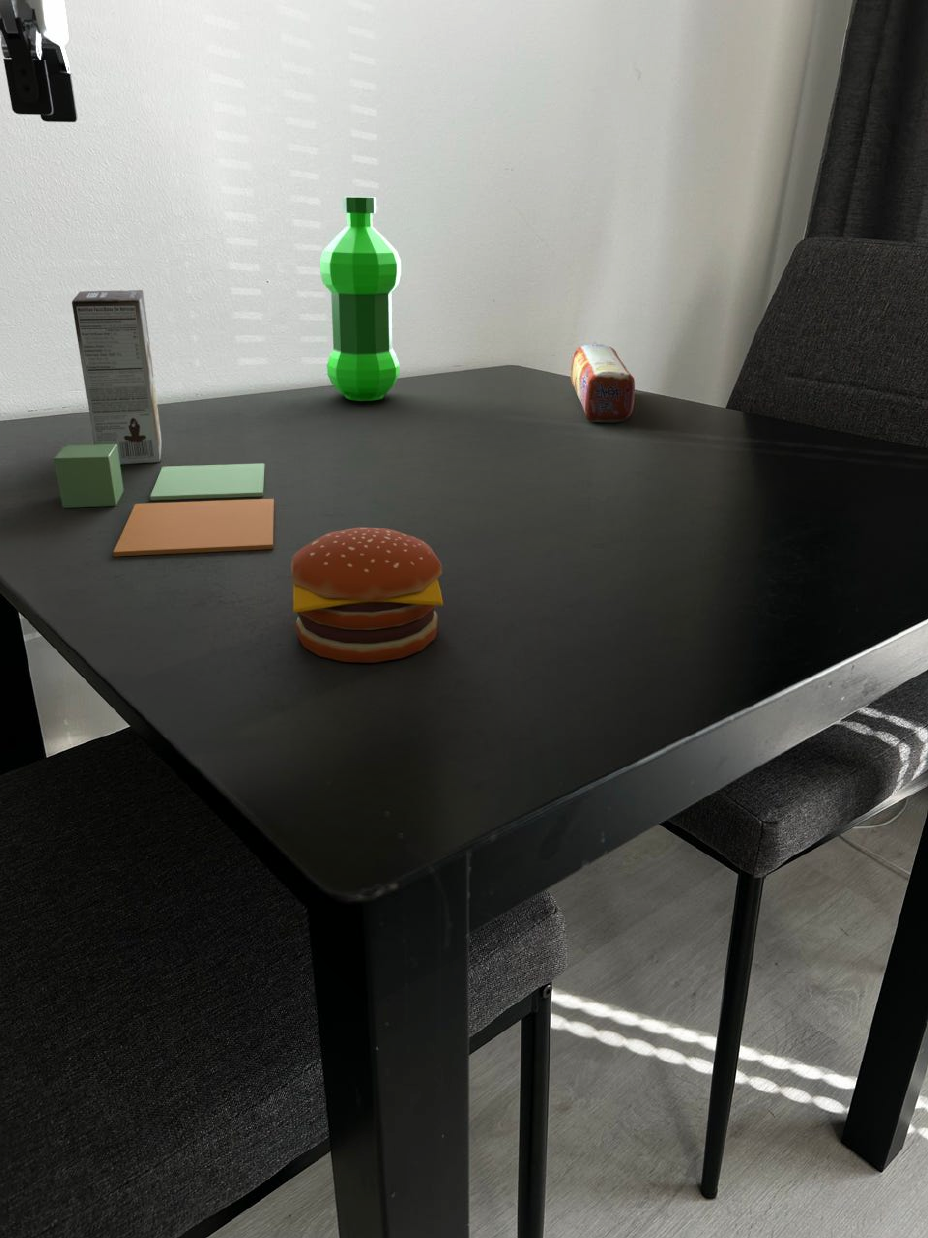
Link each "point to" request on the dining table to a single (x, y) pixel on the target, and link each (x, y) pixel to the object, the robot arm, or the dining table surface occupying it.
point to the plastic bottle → (361, 304)
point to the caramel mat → (197, 527)
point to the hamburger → (366, 595)
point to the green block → (89, 475)
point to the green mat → (209, 482)
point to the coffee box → (118, 372)
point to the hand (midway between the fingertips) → (47, 117)
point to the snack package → (602, 383)
